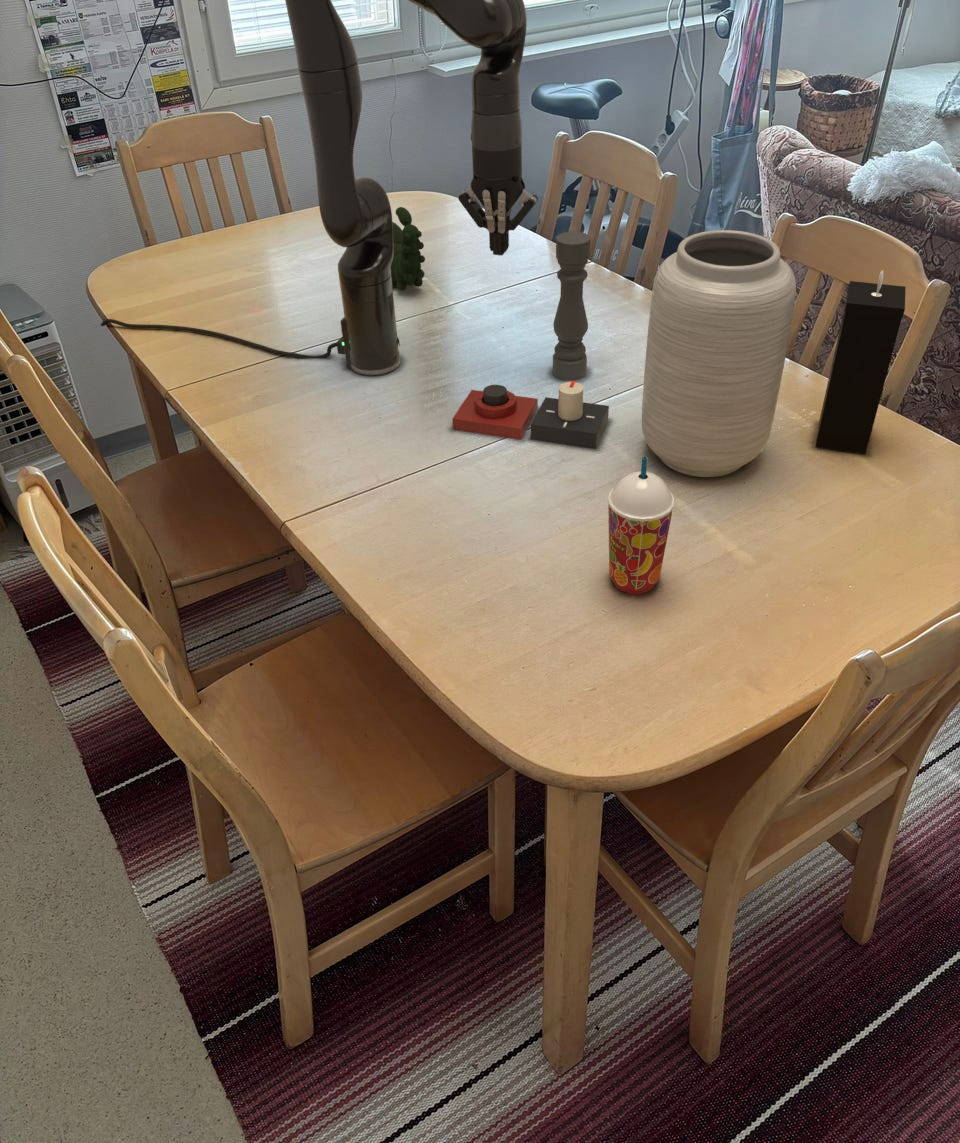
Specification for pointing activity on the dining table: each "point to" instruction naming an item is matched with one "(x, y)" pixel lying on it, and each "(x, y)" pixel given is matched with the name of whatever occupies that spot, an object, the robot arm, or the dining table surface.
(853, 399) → the black pillar candle
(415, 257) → the dark green lumpy figure
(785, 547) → the dining table surface
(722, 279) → the vase
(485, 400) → the button
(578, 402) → the knob
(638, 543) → the smoothie
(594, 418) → the control panel
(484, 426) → the button housing
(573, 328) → the candle holder
